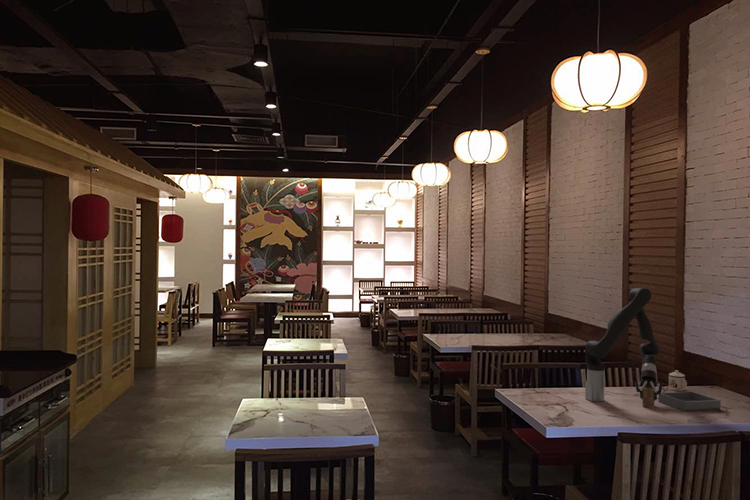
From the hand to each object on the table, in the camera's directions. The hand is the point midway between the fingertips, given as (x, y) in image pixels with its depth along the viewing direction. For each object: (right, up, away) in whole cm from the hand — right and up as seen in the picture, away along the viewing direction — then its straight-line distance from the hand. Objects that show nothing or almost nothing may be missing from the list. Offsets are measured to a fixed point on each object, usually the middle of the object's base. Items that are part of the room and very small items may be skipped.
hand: (648, 399), depth 305 cm
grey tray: (+24, -5, +3) cm, 25 cm away
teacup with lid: (+38, -5, +39) cm, 55 cm away
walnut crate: (+1, -4, +2) cm, 5 cm away
